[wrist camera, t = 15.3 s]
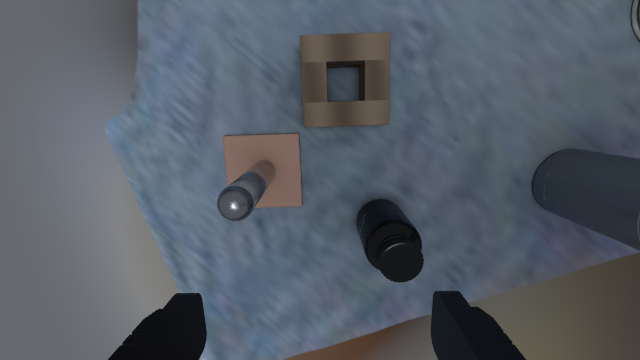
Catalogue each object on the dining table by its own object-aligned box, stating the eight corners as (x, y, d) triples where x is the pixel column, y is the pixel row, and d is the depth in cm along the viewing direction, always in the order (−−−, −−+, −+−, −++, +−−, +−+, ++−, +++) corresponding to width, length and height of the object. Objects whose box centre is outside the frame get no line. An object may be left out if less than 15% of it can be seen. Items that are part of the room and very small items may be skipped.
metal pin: (274, 160, 40) (248, 189, 25) (276, 183, 41) (251, 225, 25) (251, 160, 40) (209, 191, 25) (253, 183, 41) (214, 227, 25)
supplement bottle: (347, 211, 43) (358, 249, 31) (390, 190, 42) (418, 220, 30) (368, 250, 44) (386, 301, 32) (410, 230, 43) (444, 274, 32)
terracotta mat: (298, 133, 40) (298, 133, 39) (302, 204, 42) (302, 206, 41) (225, 135, 40) (222, 136, 39) (232, 206, 42) (230, 208, 41)
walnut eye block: (381, 42, 37) (390, 32, 33) (380, 122, 40) (389, 124, 35) (302, 45, 38) (300, 35, 33) (306, 125, 40) (304, 127, 35)
